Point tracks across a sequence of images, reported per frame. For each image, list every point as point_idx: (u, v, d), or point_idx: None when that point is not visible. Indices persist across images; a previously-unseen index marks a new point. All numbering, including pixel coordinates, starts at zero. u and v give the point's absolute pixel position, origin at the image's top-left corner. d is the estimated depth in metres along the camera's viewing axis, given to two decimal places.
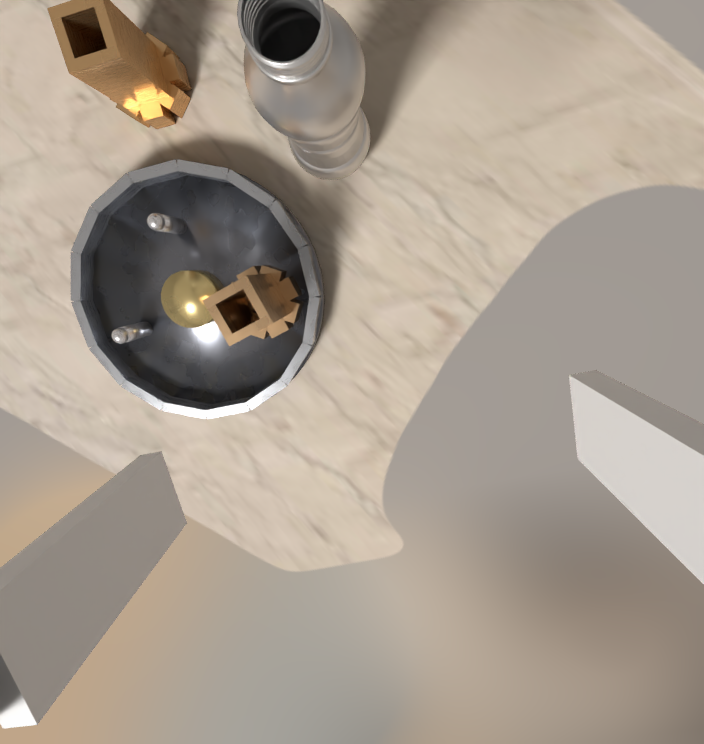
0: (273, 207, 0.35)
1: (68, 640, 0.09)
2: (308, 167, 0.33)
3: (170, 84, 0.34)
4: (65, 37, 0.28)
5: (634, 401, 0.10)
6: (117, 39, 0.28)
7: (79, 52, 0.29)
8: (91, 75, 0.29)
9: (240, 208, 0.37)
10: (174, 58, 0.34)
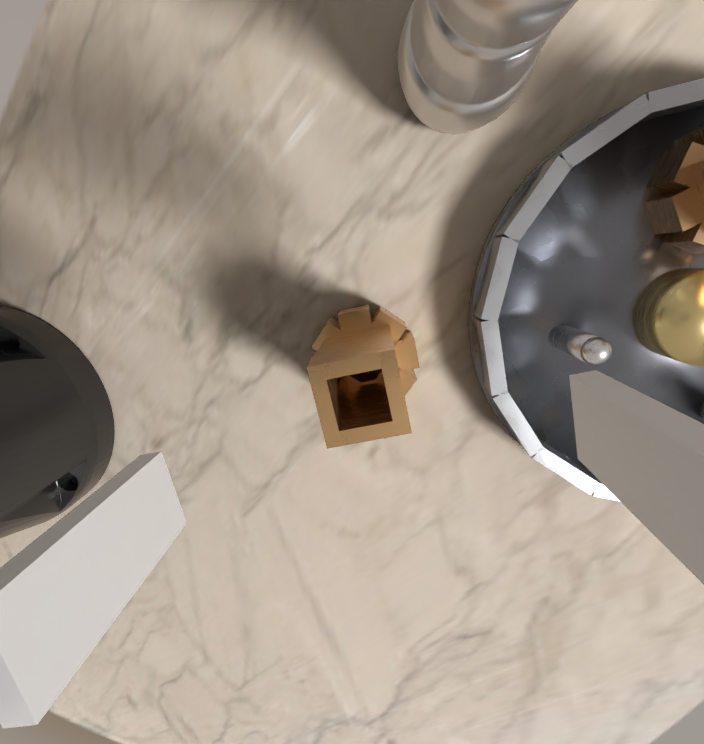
0: (572, 158, 0.21)
1: (68, 640, 0.09)
2: (529, 73, 0.19)
3: (374, 322, 0.24)
4: (364, 429, 0.19)
5: (634, 401, 0.10)
6: (366, 353, 0.18)
7: (376, 417, 0.19)
8: None
9: (547, 233, 0.23)
10: (342, 313, 0.24)
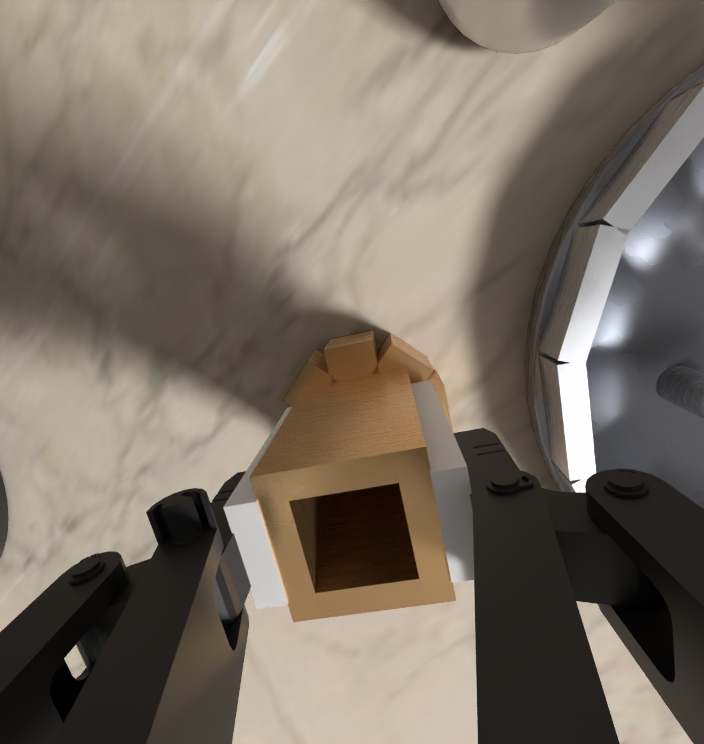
0: None
1: None
2: None
3: (382, 362, 0.15)
4: (363, 591, 0.10)
5: (427, 406, 0.12)
6: (368, 448, 0.09)
7: (386, 557, 0.10)
8: None
9: (663, 220, 0.14)
10: (331, 347, 0.15)
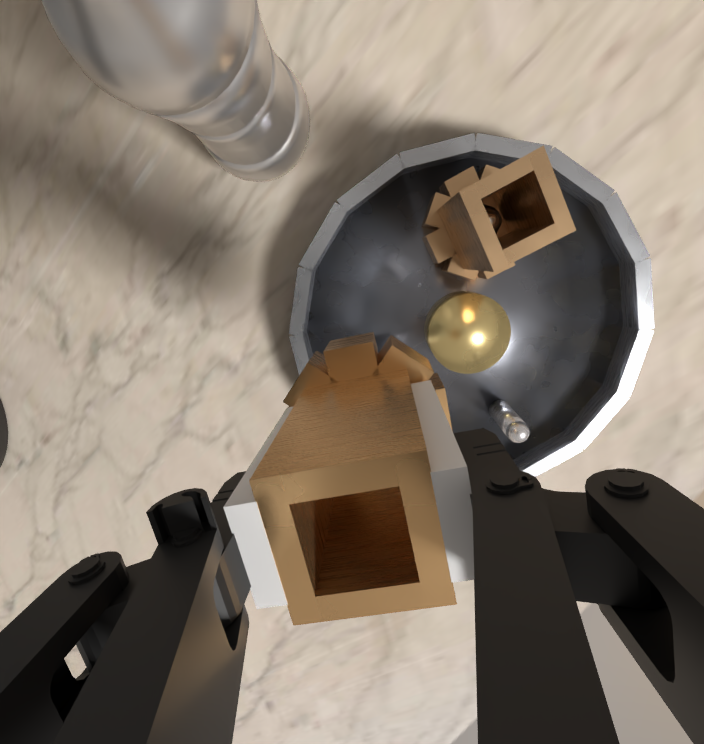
0: (346, 204, 0.25)
1: None
2: (294, 139, 0.24)
3: (382, 364, 0.15)
4: (363, 594, 0.10)
5: (427, 406, 0.12)
6: (368, 451, 0.09)
7: (386, 560, 0.10)
8: None
9: (346, 262, 0.28)
10: (331, 349, 0.15)
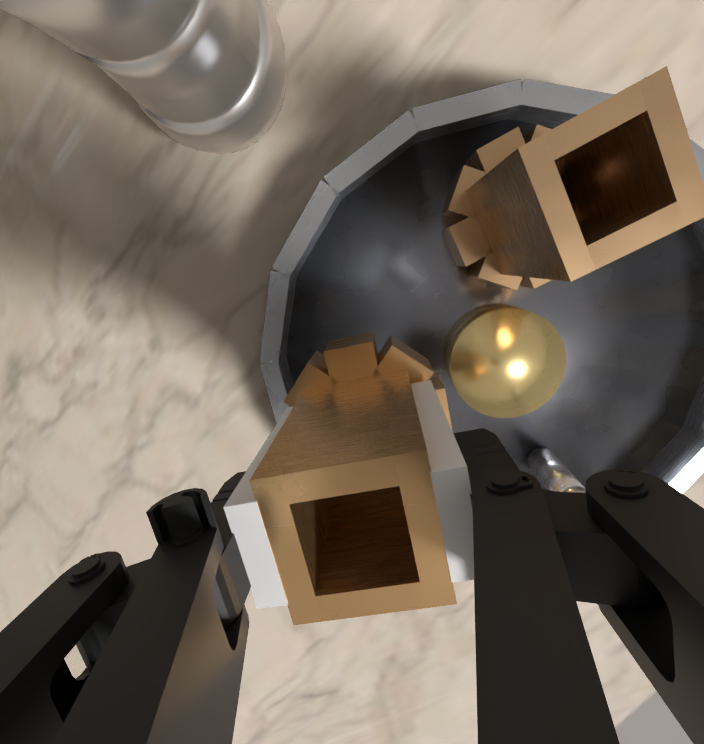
0: (337, 183, 0.18)
1: None
2: (261, 87, 0.16)
3: (382, 364, 0.15)
4: (364, 594, 0.10)
5: (427, 406, 0.12)
6: (368, 451, 0.09)
7: (386, 560, 0.10)
8: None
9: (338, 264, 0.21)
10: (331, 349, 0.15)
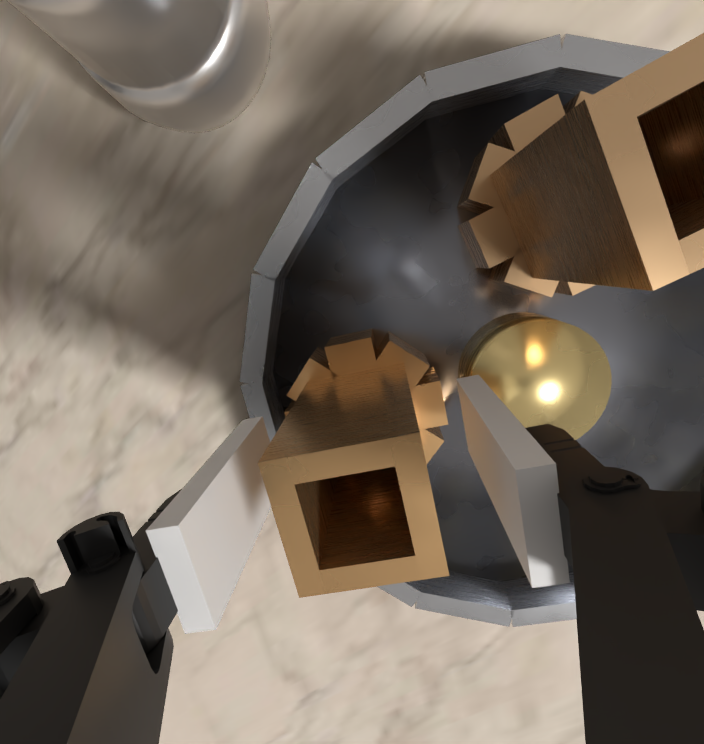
0: (331, 166, 0.15)
1: (226, 565, 0.10)
2: (235, 44, 0.13)
3: (380, 358, 0.16)
4: (363, 568, 0.10)
5: (485, 401, 0.12)
6: (366, 436, 0.10)
7: (384, 537, 0.11)
8: None
9: (334, 266, 0.17)
10: (332, 345, 0.16)
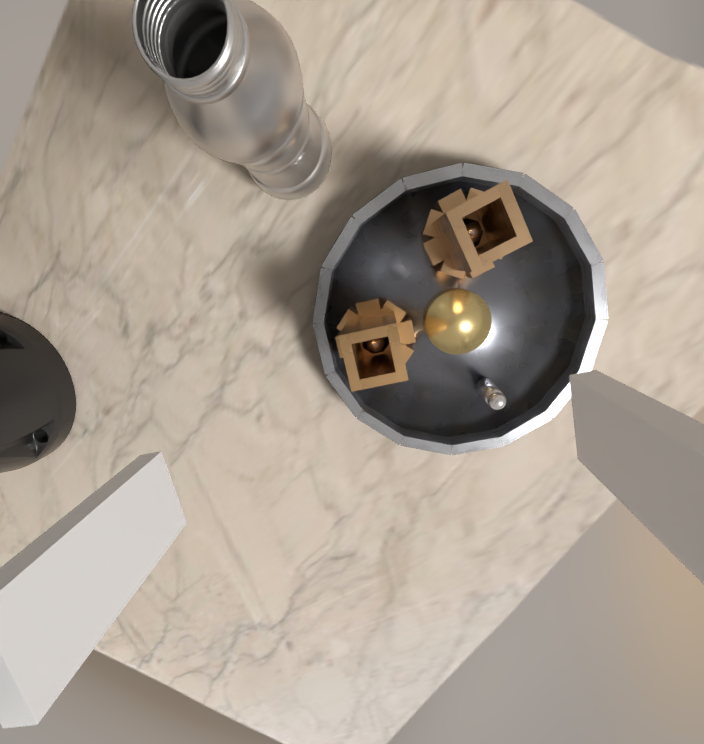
0: (360, 218, 0.32)
1: (68, 640, 0.09)
2: (320, 168, 0.30)
3: (382, 309, 0.33)
4: (376, 378, 0.27)
5: (634, 401, 0.10)
6: (377, 326, 0.27)
7: (384, 371, 0.28)
8: None
9: (359, 264, 0.34)
10: (359, 302, 0.33)
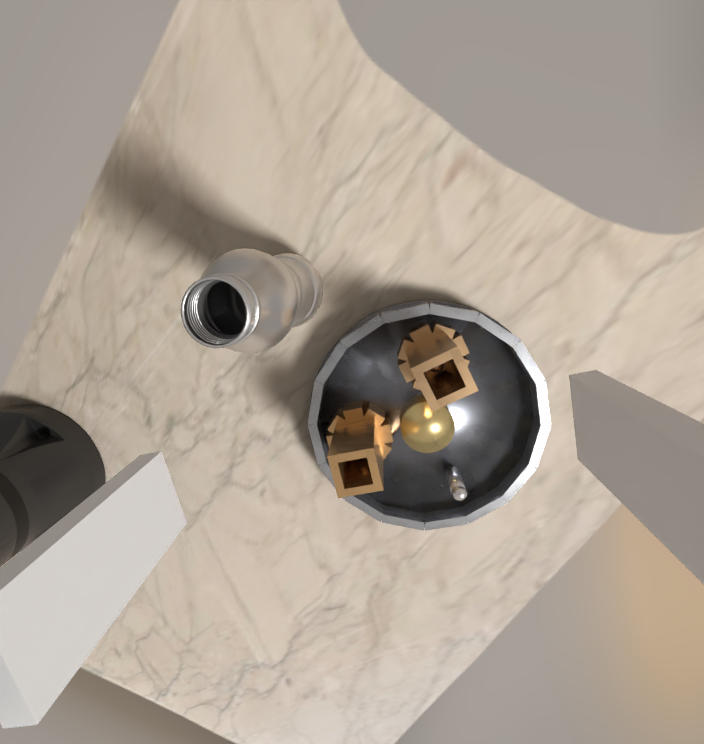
0: (346, 344, 0.39)
1: (68, 640, 0.09)
2: (313, 310, 0.37)
3: (365, 415, 0.40)
4: (358, 488, 0.34)
5: (634, 401, 0.10)
6: (358, 448, 0.34)
7: (364, 480, 0.35)
8: (381, 473, 0.35)
9: (346, 375, 0.41)
10: (346, 410, 0.40)
